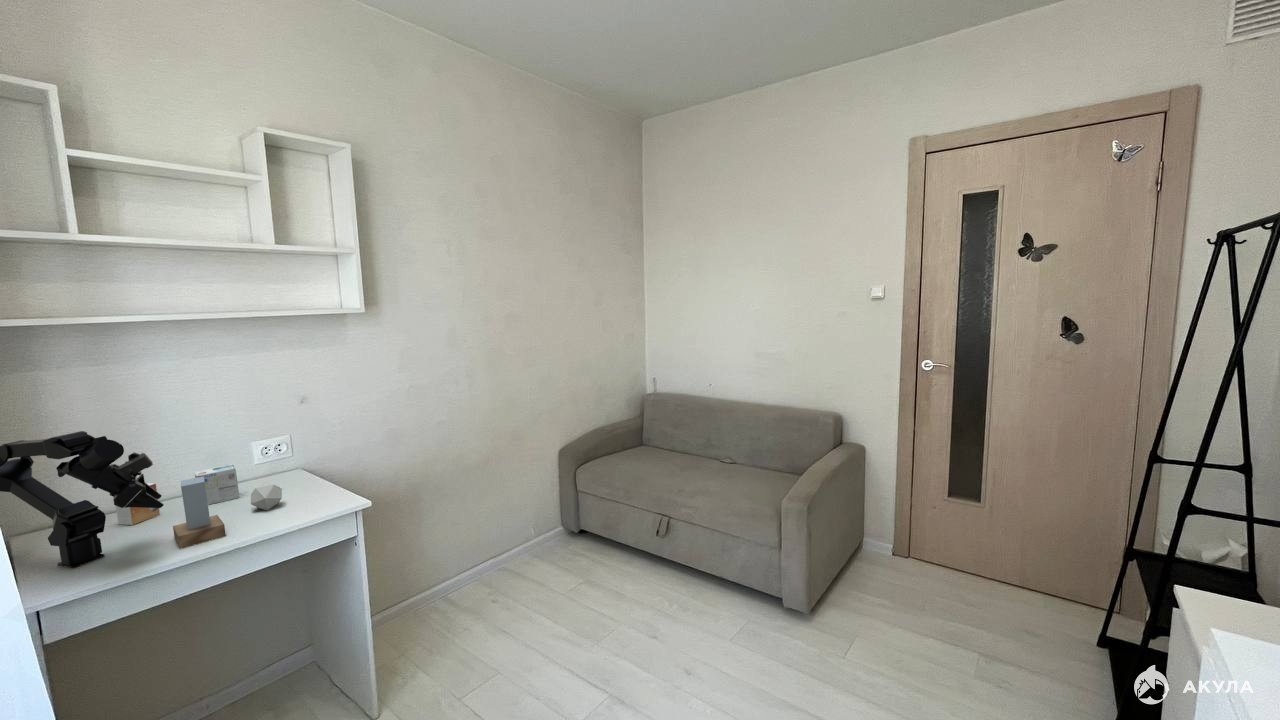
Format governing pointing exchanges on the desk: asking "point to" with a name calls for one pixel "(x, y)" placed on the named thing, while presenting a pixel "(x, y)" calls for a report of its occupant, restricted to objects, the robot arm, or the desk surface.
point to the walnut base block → (199, 532)
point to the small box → (136, 512)
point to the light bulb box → (220, 483)
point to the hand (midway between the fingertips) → (161, 501)
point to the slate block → (195, 503)
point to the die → (266, 496)
